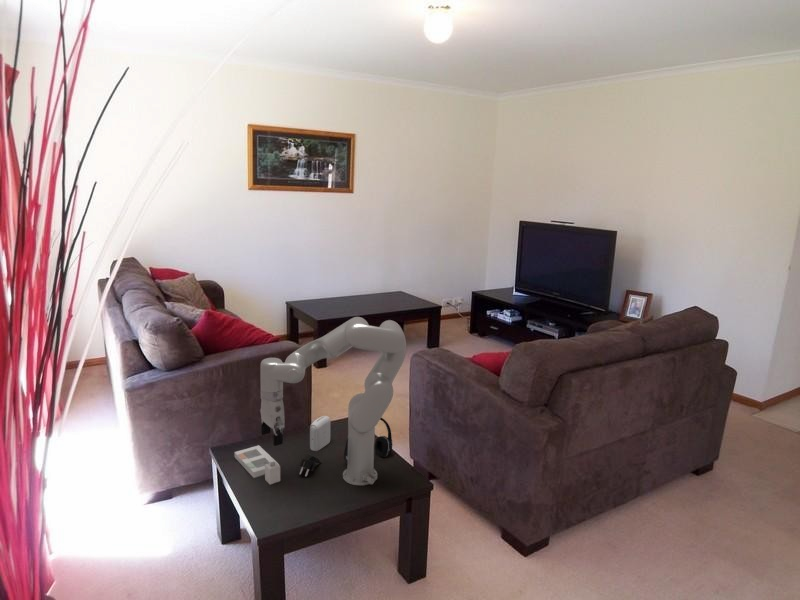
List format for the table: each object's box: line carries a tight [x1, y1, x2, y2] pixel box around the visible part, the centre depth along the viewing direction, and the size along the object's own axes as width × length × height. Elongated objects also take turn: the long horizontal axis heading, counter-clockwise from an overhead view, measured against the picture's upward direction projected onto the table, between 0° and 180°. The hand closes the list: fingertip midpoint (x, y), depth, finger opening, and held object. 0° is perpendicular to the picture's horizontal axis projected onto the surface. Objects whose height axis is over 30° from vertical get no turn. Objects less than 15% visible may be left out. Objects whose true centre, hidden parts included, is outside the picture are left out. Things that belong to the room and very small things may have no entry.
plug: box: [264, 461, 281, 485], centre depth 194 cm, size 4×4×7 cm
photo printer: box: [309, 415, 332, 452], centre depth 219 cm, size 10×4×12 cm, turn 152°
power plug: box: [297, 454, 323, 477], centre depth 201 cm, size 6×8×12 cm
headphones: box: [343, 417, 393, 464], centre depth 209 cm, size 20×7×18 cm, turn 126°
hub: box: [234, 444, 280, 479], centre depth 205 cm, size 18×10×3 cm, turn 38°
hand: (271, 439), depth 191 cm, fingers open, 9 cm apart
